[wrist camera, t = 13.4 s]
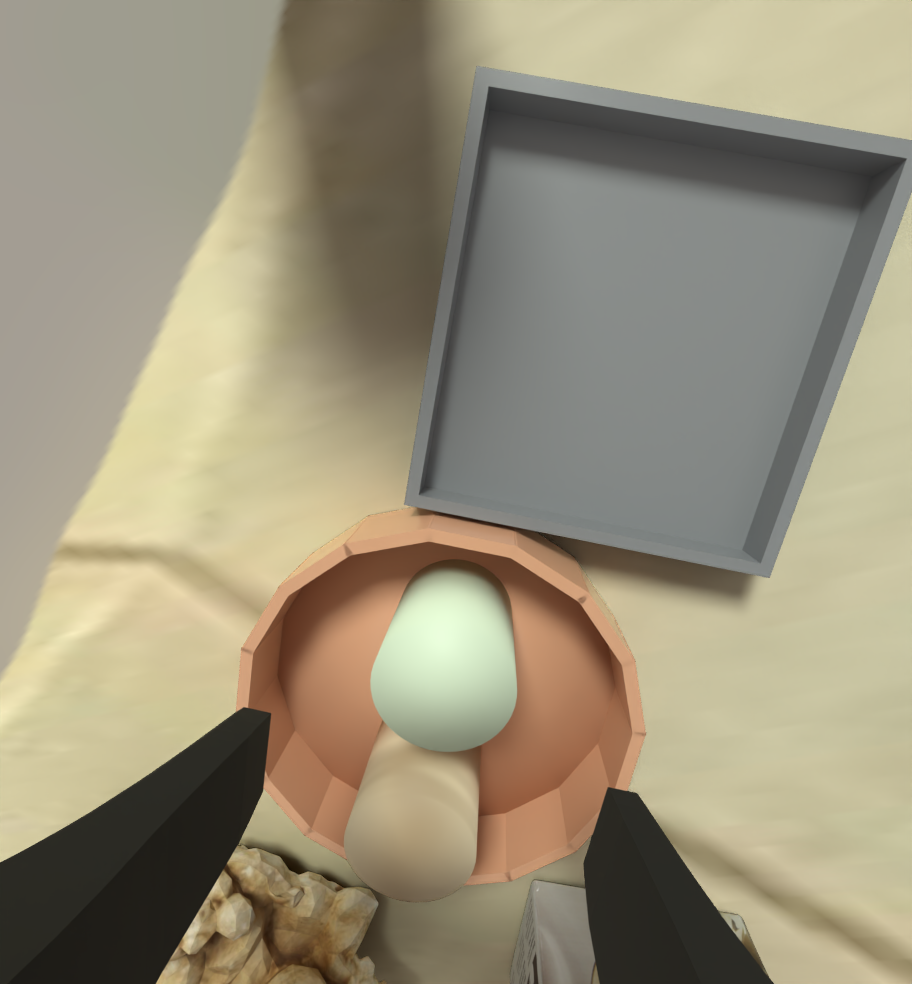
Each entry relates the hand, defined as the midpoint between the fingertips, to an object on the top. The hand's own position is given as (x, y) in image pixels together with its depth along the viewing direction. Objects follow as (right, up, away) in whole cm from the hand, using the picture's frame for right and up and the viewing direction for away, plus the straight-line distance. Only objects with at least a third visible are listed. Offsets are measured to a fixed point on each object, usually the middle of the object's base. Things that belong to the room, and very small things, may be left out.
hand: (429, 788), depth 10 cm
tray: (+6, +11, +6) cm, 13 cm away
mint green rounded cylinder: (+1, +2, +7) cm, 8 cm away
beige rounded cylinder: (0, -3, +9) cm, 9 cm away
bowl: (0, -1, +9) cm, 9 cm away
